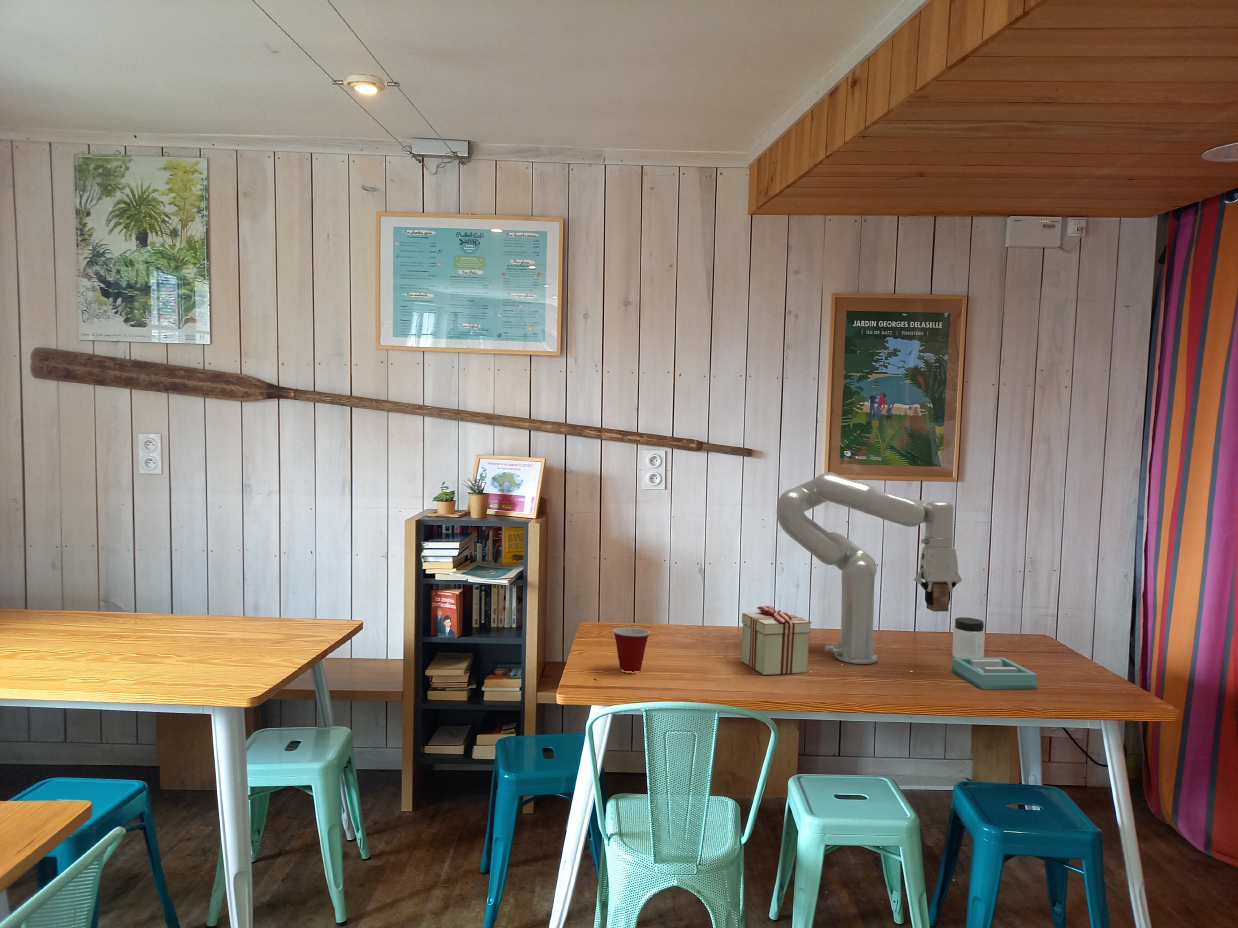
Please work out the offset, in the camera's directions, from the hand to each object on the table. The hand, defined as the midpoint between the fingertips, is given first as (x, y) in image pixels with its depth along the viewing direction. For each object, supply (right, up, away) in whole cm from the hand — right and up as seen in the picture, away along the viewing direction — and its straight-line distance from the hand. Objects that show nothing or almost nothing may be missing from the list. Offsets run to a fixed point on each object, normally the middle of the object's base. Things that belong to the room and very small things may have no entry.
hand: (937, 603), depth 233 cm
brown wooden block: (0, -2, 0) cm, 2 cm away
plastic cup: (-91, -18, -7) cm, 93 cm away
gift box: (-48, -19, 0) cm, 51 cm away
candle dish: (+12, -20, -9) cm, 25 cm away
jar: (+14, -20, +12) cm, 27 cm away
